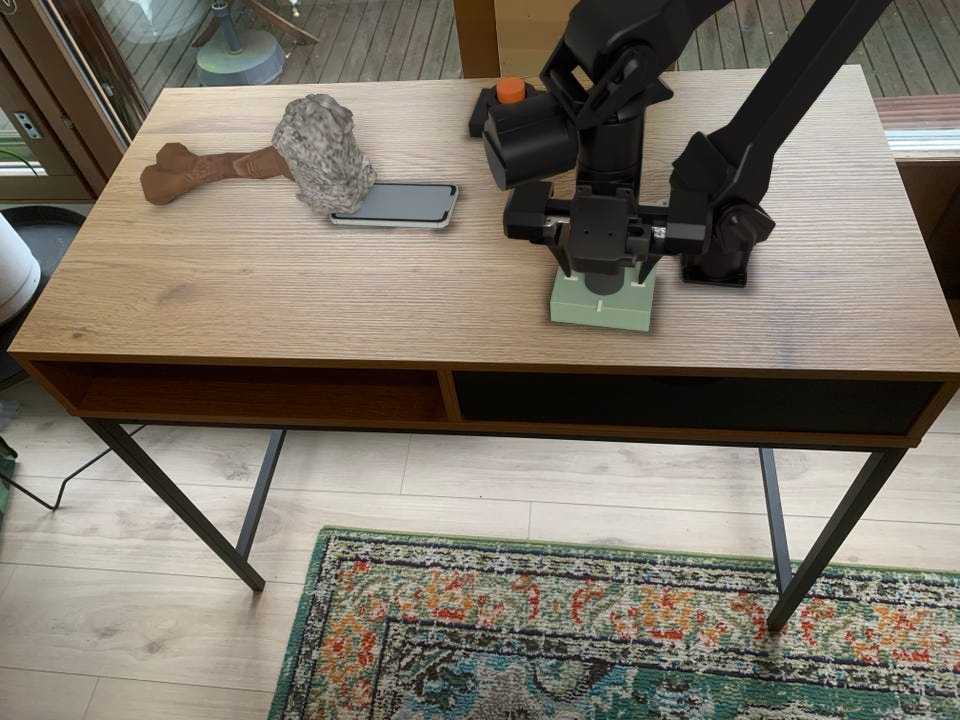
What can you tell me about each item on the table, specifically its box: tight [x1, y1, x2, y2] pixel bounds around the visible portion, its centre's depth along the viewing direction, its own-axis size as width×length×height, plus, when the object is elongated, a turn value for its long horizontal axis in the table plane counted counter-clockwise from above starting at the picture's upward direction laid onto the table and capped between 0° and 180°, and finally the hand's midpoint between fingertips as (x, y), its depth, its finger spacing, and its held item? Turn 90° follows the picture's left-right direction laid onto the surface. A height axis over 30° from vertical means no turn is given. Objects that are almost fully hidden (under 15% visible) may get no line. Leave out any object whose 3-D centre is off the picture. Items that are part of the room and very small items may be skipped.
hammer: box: [139, 93, 378, 215], centre depth 90 cm, size 15×10×30 cm
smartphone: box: [329, 181, 459, 229], centre depth 91 cm, size 7×1×15 cm
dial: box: [584, 267, 625, 295], centre depth 74 cm, size 4×4×4 cm
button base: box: [468, 80, 546, 139], centre depth 98 cm, size 10×8×4 cm
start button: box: [496, 76, 525, 104], centre depth 96 cm, size 4×4×2 cm
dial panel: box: [549, 261, 658, 332], centre depth 77 cm, size 10×8×3 cm
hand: (604, 278), depth 75 cm, fingers open, 7 cm apart
